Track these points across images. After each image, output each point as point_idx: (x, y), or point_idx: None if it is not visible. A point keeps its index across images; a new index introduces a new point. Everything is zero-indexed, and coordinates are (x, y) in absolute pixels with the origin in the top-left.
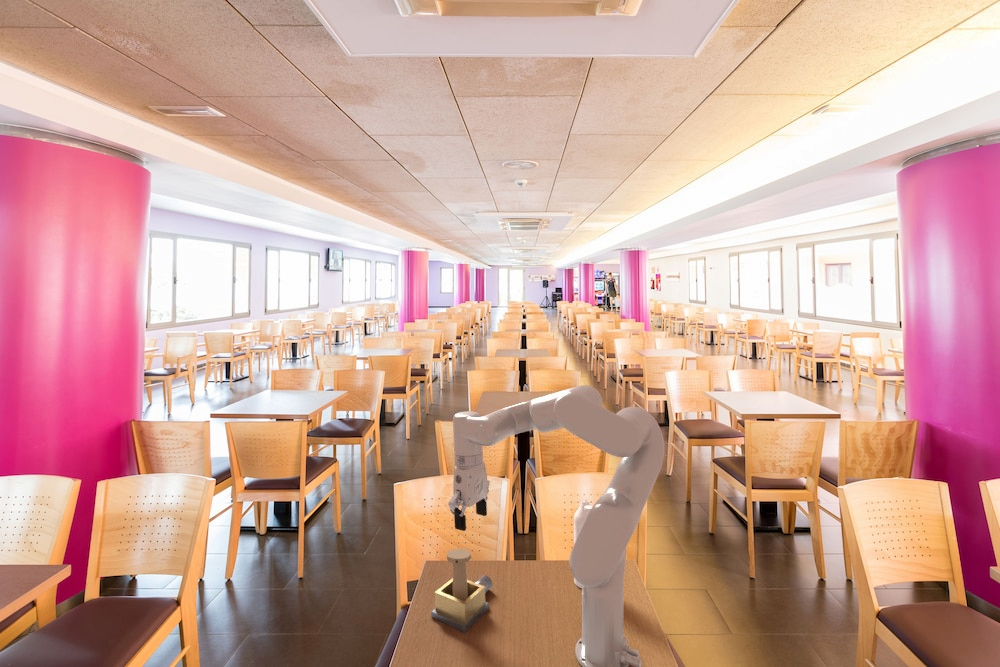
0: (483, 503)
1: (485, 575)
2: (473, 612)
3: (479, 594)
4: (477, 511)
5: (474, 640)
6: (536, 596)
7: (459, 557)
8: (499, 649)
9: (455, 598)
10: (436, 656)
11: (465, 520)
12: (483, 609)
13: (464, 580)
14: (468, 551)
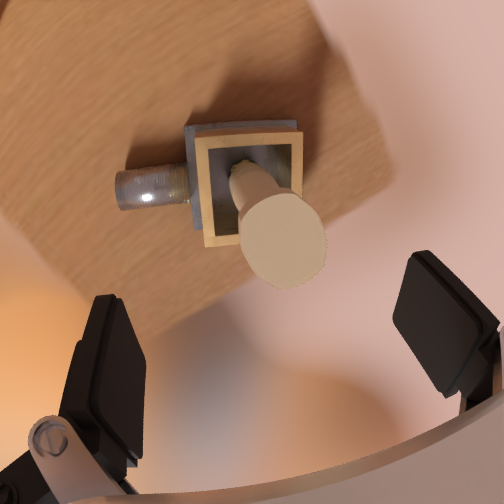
0: (106, 406)
1: (118, 200)
2: (253, 127)
3: (226, 134)
4: (141, 371)
5: (301, 83)
6: (71, 65)
7: (309, 222)
8: (293, 22)
9: (294, 173)
10: (375, 127)
11: (464, 295)
12: (210, 123)
13: (265, 180)
14: (248, 224)
